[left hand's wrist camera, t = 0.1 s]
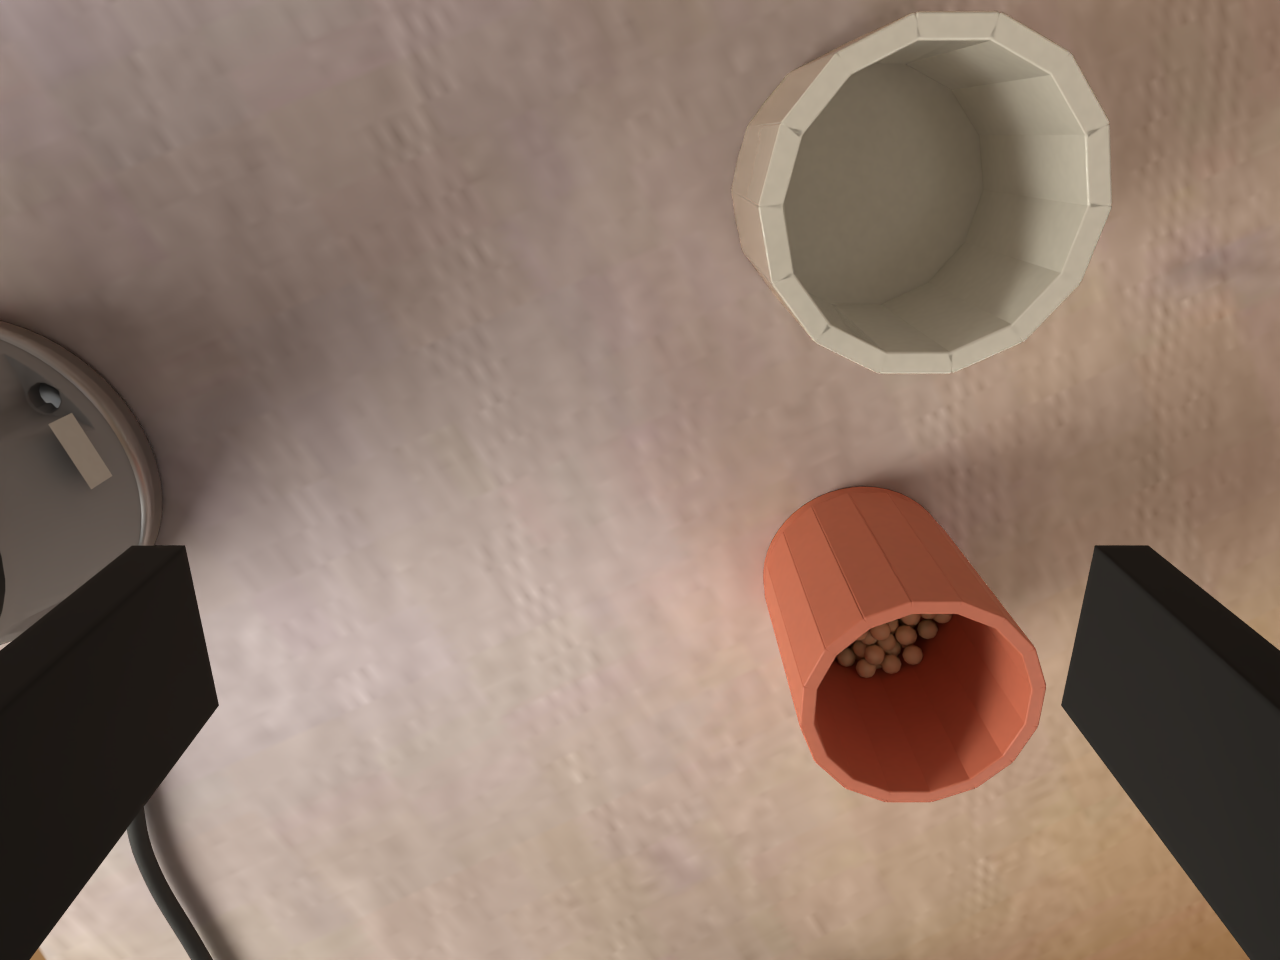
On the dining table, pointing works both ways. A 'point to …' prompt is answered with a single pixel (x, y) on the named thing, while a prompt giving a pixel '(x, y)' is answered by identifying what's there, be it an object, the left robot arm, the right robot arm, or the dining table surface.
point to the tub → (926, 190)
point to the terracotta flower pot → (917, 694)
